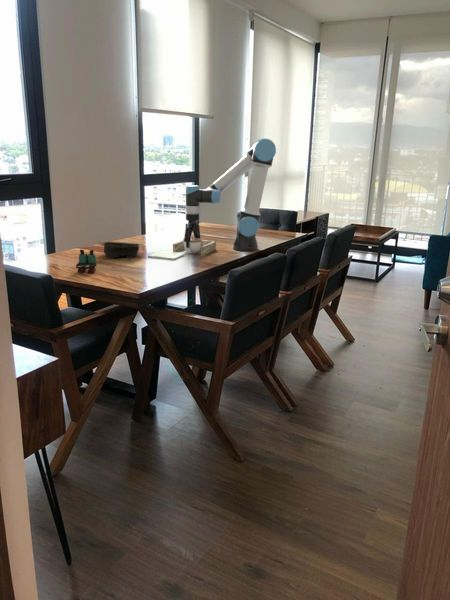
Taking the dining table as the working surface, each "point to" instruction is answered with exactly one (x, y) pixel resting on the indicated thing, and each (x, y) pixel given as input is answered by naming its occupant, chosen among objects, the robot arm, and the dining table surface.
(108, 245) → the stone bowl
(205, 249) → the cubby
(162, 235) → the dining table surface
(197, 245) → the lidded jar
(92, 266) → the binoculars
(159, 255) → the pad
